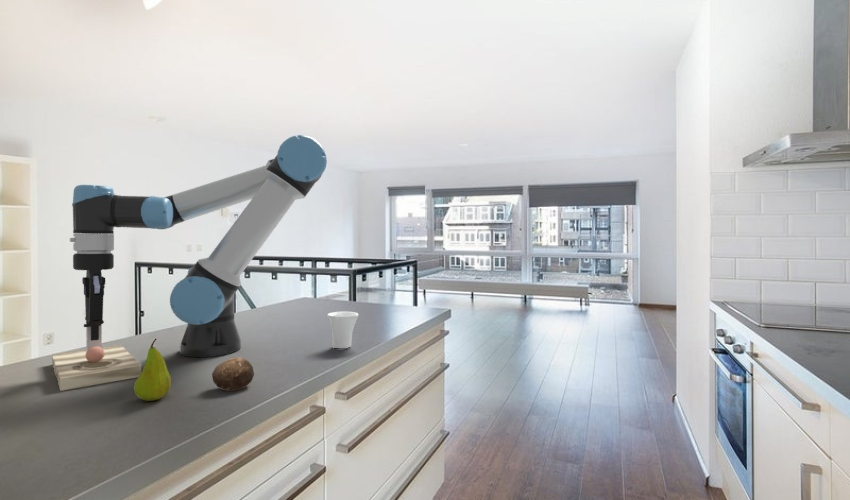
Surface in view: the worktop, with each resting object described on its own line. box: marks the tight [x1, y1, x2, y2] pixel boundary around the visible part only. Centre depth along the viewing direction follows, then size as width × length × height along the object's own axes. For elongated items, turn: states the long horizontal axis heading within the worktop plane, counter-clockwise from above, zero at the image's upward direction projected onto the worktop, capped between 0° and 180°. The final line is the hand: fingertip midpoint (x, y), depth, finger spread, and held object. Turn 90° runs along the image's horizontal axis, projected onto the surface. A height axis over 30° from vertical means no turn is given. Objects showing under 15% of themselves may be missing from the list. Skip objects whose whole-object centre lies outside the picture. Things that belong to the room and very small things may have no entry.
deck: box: [51, 344, 142, 392], centre depth 102 cm, size 24×14×2 cm, turn 44°
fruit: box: [133, 338, 172, 402], centre depth 85 cm, size 6×6×12 cm
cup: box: [326, 311, 359, 349], centre depth 126 cm, size 9×9×10 cm
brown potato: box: [211, 357, 255, 392], centre depth 93 cm, size 8×8×6 cm
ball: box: [85, 347, 105, 362], centre depth 100 cm, size 4×4×4 cm
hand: (94, 353), depth 102 cm, fingers closed
